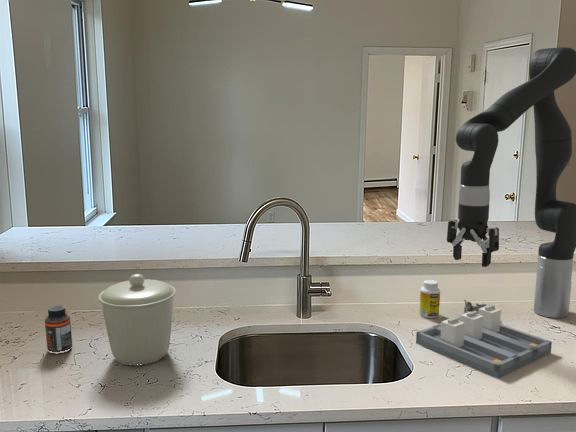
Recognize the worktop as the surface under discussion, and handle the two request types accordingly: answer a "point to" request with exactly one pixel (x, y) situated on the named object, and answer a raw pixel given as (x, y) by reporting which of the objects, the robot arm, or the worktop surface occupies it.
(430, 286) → the supplement bottle
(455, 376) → the worktop surface
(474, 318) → the white tall block
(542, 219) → the robot arm
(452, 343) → the tab
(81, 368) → the worktop surface
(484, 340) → the switch board
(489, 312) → the white upright block
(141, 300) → the canister
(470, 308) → the grey jagged lump
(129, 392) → the worktop surface
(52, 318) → the supplement bottle
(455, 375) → the worktop surface
